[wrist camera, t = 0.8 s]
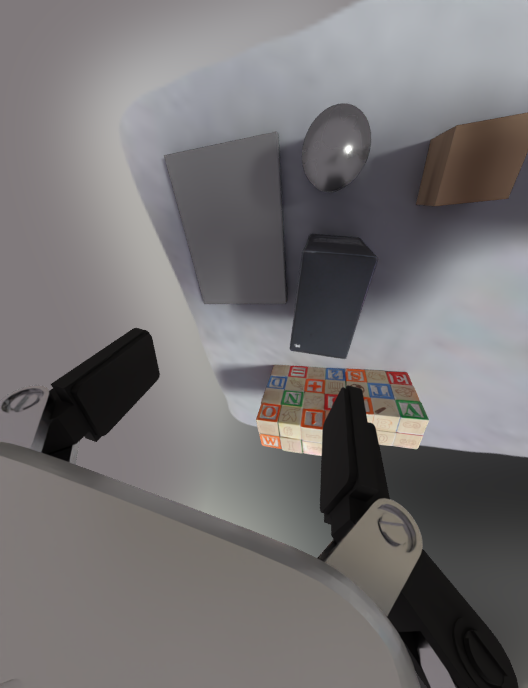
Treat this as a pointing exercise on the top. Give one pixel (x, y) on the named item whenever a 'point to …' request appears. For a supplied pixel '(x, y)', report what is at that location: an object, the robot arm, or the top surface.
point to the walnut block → (474, 162)
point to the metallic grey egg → (336, 147)
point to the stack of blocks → (318, 398)
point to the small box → (330, 294)
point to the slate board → (233, 218)
